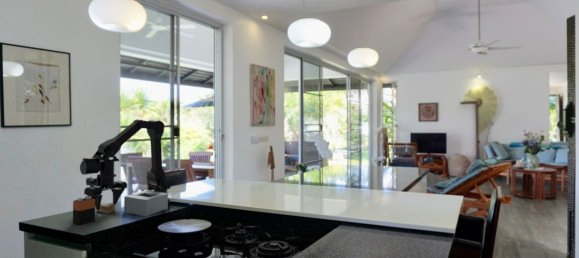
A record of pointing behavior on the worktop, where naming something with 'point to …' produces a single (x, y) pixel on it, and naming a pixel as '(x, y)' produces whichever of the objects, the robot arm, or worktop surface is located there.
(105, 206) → the tan wooden block
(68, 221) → the worktop surface
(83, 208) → the battery
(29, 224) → the worktop surface
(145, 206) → the coin box
